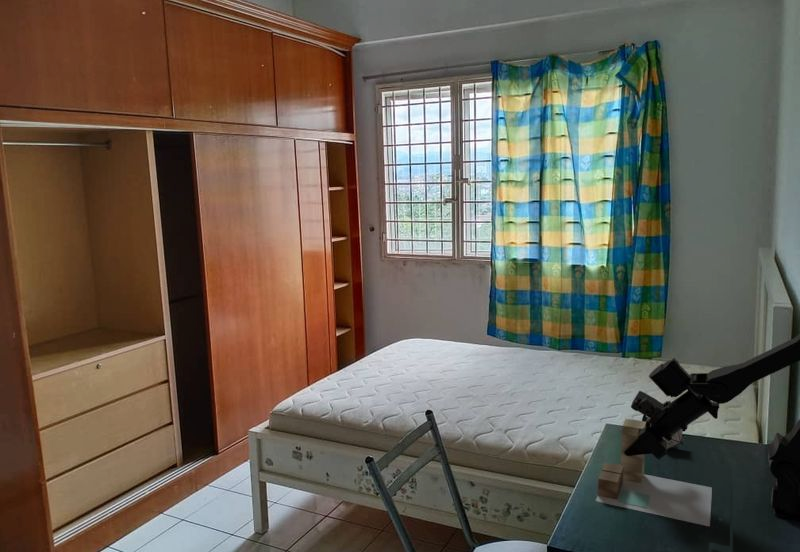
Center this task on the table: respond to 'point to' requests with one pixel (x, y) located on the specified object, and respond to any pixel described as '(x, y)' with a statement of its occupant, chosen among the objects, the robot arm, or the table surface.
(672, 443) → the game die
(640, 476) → the pillar
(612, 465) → the cube
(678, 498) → the board
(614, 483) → the cube
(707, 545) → the table surface
